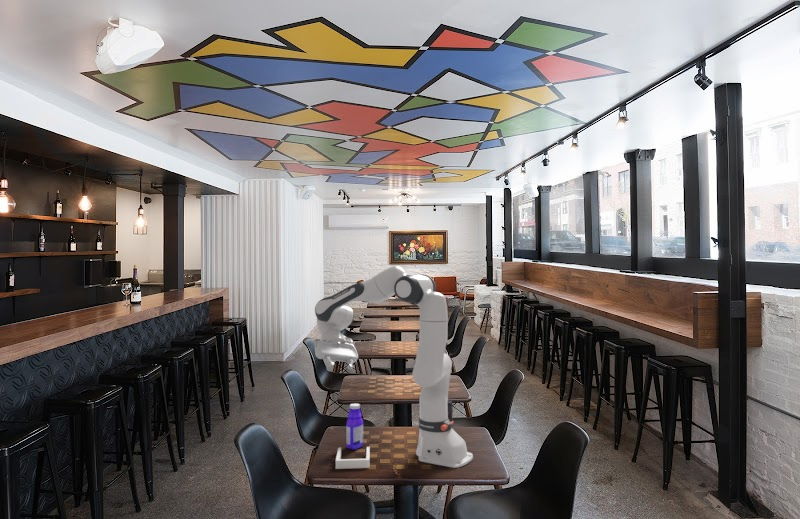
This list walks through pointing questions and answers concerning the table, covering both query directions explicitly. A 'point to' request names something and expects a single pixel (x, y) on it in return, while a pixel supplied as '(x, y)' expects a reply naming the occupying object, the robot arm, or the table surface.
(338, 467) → the bottle holder
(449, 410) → the camera lens
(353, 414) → the bottle
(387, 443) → the table surface
